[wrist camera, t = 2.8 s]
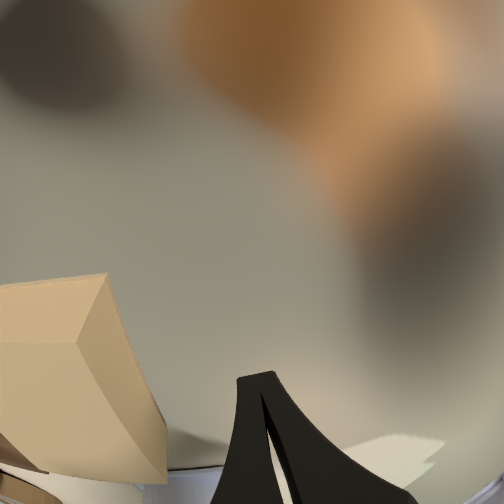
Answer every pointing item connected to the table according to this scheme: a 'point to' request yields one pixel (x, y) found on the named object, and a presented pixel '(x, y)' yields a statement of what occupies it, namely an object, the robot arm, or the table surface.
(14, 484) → the alarm clock
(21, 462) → the frame
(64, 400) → the small carton
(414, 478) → the table surface
